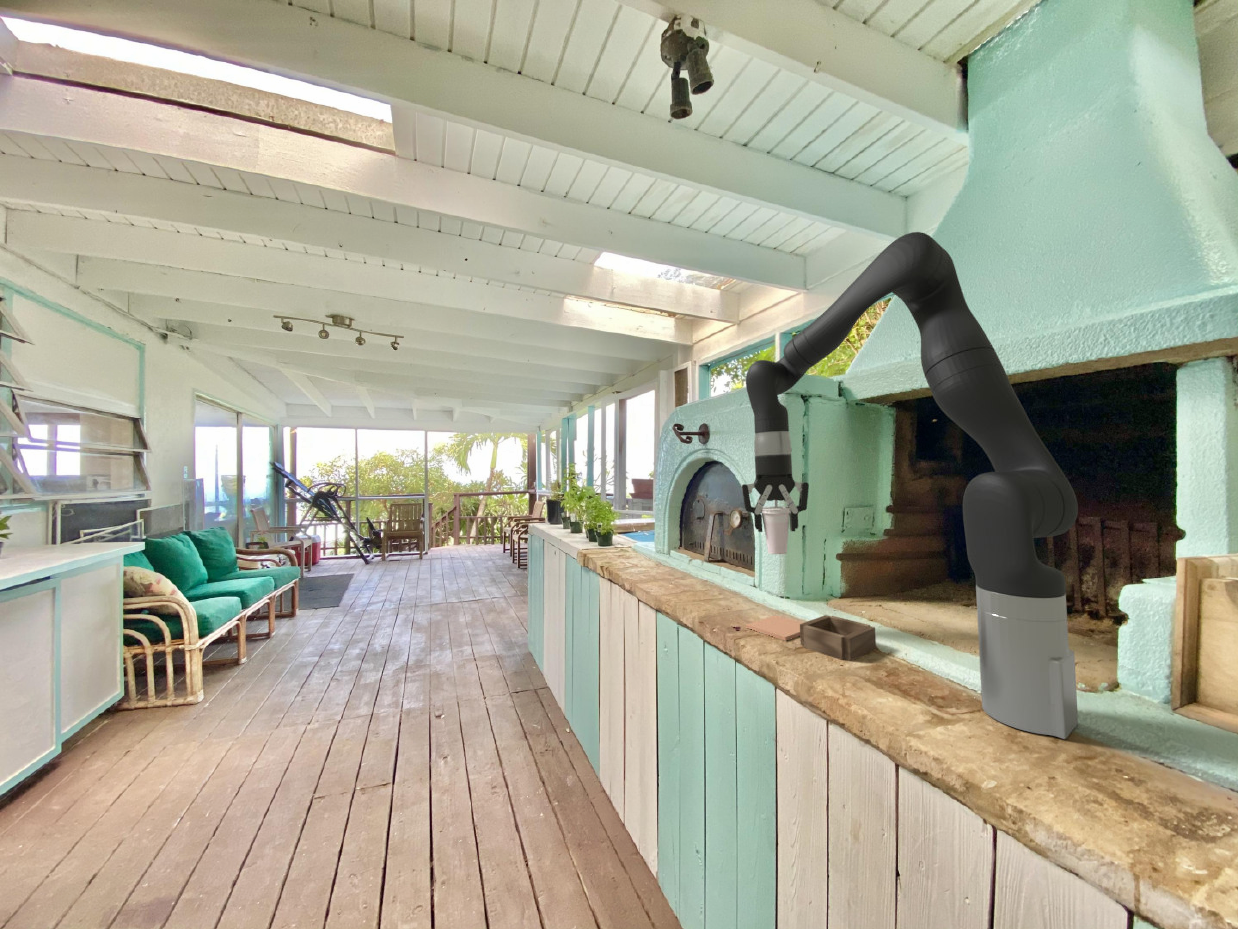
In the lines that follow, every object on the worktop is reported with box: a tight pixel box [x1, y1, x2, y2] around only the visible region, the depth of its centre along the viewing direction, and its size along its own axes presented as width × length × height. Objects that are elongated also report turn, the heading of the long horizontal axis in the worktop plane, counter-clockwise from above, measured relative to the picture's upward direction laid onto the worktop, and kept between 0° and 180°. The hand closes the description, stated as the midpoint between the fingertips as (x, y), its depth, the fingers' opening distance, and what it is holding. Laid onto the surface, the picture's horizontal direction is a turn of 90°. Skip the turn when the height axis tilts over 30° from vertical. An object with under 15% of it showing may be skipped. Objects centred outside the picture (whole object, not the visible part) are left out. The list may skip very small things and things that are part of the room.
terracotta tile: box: [745, 614, 803, 642], centre depth 99 cm, size 10×10×1 cm
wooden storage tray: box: [799, 614, 877, 662], centre depth 89 cm, size 10×10×4 cm
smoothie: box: [760, 500, 791, 555], centre depth 100 cm, size 6×6×14 cm
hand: (776, 531), depth 100 cm, fingers closed on smoothie, 6 cm apart
